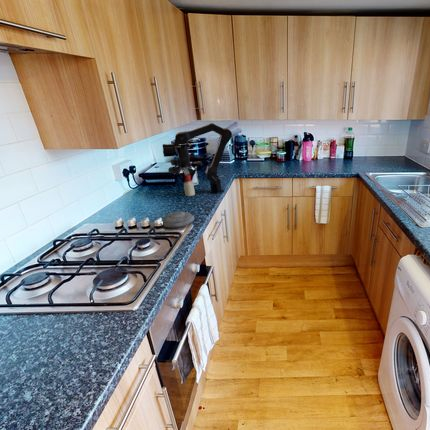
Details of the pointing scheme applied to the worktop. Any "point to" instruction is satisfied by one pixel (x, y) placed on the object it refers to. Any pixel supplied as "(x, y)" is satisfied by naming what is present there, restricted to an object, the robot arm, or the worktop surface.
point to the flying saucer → (177, 219)
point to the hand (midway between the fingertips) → (187, 181)
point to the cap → (187, 177)
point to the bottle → (189, 188)
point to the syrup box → (195, 178)
